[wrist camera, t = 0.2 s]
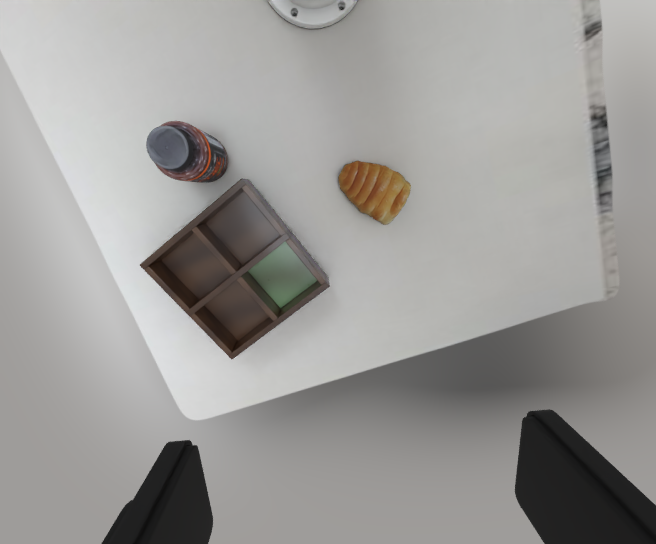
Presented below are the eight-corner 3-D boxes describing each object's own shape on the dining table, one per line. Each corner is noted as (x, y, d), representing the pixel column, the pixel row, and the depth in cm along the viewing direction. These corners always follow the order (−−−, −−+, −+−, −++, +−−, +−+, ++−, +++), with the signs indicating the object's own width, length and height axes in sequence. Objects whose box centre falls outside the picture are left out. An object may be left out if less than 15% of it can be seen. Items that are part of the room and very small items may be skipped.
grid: (154, 258, 44) (139, 265, 40) (248, 179, 42) (241, 178, 38) (238, 345, 48) (231, 359, 44) (328, 277, 46) (329, 286, 42)
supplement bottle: (215, 191, 42) (181, 192, 31) (174, 166, 41) (124, 158, 30) (237, 151, 41) (208, 138, 30) (195, 124, 40) (150, 100, 29)
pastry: (328, 194, 43) (329, 194, 39) (352, 148, 41) (356, 143, 38) (387, 226, 44) (394, 230, 40) (412, 182, 43) (421, 182, 39)
